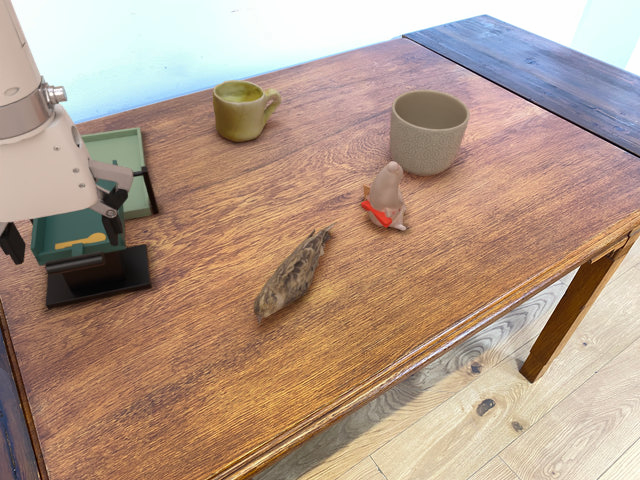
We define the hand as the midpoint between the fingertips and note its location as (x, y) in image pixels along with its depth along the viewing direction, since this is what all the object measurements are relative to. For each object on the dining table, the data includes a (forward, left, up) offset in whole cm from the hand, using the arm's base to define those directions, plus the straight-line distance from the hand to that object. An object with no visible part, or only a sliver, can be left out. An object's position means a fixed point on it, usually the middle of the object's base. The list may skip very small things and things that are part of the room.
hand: (69, 246), depth 56 cm
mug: (+6, +46, -13) cm, 48 cm away
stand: (-5, +10, -13) cm, 17 cm away
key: (-3, +5, -5) cm, 8 cm away
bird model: (+23, +12, -13) cm, 29 cm away
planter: (+38, +42, -13) cm, 58 cm away
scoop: (-4, +8, -6) cm, 11 cm away
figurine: (+33, +27, -13) cm, 45 cm away
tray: (-14, +26, -13) cm, 32 cm away
